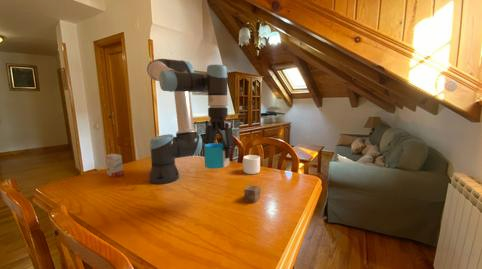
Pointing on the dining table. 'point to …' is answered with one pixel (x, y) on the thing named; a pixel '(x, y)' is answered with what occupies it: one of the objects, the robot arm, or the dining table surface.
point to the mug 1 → (214, 155)
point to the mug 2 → (251, 164)
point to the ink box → (114, 165)
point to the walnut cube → (252, 193)
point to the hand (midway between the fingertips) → (218, 163)
